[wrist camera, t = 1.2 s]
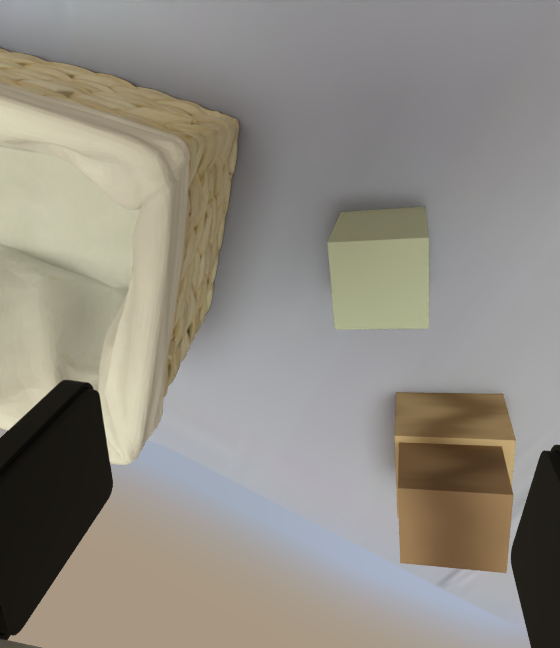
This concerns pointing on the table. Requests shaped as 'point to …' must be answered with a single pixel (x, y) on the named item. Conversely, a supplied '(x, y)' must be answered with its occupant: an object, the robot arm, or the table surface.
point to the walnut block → (454, 506)
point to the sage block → (380, 269)
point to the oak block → (454, 422)
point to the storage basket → (104, 238)
